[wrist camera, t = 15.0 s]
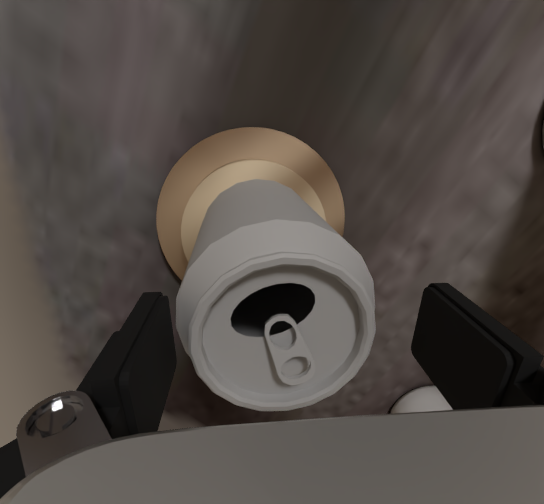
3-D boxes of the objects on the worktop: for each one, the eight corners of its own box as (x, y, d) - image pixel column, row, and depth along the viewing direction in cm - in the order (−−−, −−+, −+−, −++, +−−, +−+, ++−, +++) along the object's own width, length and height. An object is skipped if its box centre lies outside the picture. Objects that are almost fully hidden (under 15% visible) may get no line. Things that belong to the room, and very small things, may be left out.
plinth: (375, 211, 25) (393, 221, 22) (264, 329, 27) (267, 351, 25) (237, 80, 20) (238, 71, 17) (122, 238, 23) (107, 253, 20)
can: (291, 159, 19) (370, 195, 8) (324, 259, 22) (415, 386, 11) (182, 202, 20) (115, 293, 8) (228, 296, 22) (224, 457, 11)
